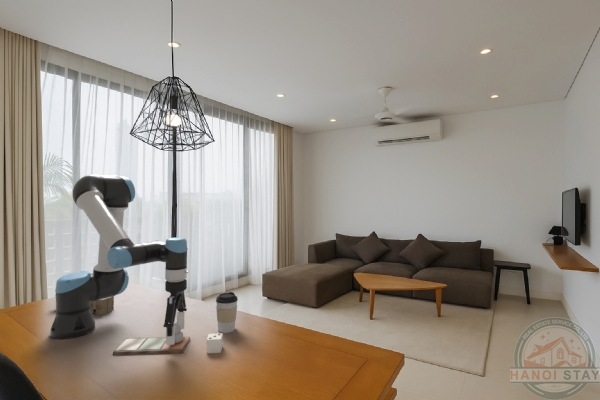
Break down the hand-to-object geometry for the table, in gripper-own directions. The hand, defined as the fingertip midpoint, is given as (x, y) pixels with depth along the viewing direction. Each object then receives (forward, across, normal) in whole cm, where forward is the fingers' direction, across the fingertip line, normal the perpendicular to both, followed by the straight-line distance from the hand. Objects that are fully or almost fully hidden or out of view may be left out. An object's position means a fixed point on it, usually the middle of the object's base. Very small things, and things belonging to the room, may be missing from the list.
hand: (175, 336), depth 122 cm
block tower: (+4, +42, +54) cm, 69 cm away
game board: (+4, 0, +8) cm, 9 cm away
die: (+4, -4, -15) cm, 16 cm away
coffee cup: (+4, +14, -17) cm, 22 cm away
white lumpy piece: (+3, 0, 0) cm, 3 cm away
